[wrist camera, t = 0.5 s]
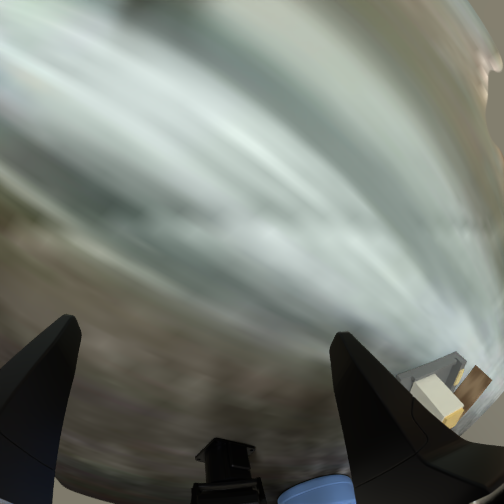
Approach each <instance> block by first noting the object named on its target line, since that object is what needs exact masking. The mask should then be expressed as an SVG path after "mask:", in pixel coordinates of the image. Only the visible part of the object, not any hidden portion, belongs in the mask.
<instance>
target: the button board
mask: <svg viewBox="0 0 504 504" xmlns="http://www.w3.org/2000/svg"><path fill="white" fill-rule="evenodd" d="M466 362H467V361H466V360H465V359H464V358H463V357H462V356H461V355H459V354H458V353H457V352H454V353H451V354H449V355H447V356H444V357H442V358H440V359H437V360H435V361H433V362H430V363H428V364H425V365H422V366H420V367H417V368H415V369H412V370H409V371H407V372H404V373H401V374H398V375H397V377H396V379H397V380H398V381H399V382H400V383H401V384H402V385H403V386H404V387H405V388H406V389H407V390H408V391H409V392H410V391H411V388H412V386H413V383H414V382H416V381H418V380H421V379H423V378H426V377H428V376H430V375H433V374H436V376H437V377H438V378H439V379H440V380H441V381H442V382H443V383H444V384H445V385H446V386H447V387H448V388H449V389H450V390H451V392H452V393H453V391H454V389H455V387H456V385H457V384H458V383H459V381H460V379H461V377H462V374H463V372H464V367H465V365H466Z"/></svg>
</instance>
